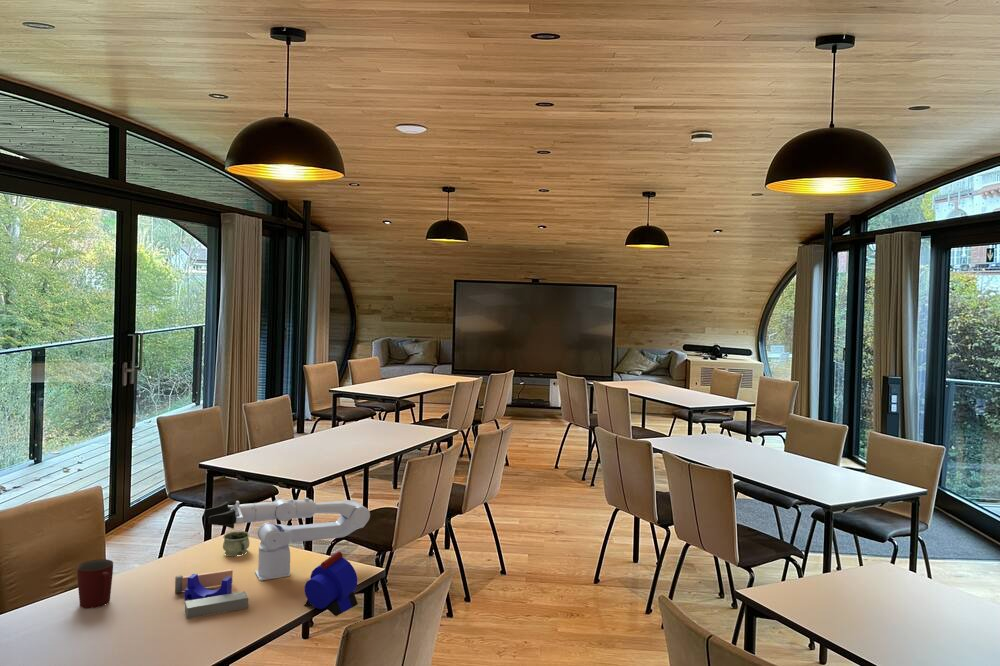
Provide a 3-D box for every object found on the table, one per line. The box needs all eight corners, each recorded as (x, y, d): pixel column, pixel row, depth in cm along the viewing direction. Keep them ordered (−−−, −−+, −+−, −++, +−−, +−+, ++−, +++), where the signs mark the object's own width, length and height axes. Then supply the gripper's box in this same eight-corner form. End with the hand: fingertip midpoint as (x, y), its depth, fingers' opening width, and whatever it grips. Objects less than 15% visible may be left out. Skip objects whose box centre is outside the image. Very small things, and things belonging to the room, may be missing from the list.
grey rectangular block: (244, 601, 210) (244, 590, 209) (248, 608, 205) (248, 597, 205) (184, 611, 202) (184, 600, 201) (187, 618, 197) (187, 608, 197)
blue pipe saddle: (184, 599, 209) (184, 579, 209) (192, 593, 214) (192, 573, 213) (224, 603, 208) (224, 582, 208) (231, 596, 213) (231, 576, 212)
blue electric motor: (359, 603, 211) (361, 553, 210) (331, 619, 200) (332, 566, 200) (327, 594, 217) (328, 545, 216) (298, 608, 206) (299, 557, 205)
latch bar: (231, 581, 222) (231, 567, 222) (232, 584, 220) (232, 569, 220) (174, 590, 214) (174, 576, 214) (175, 593, 212) (175, 578, 212)
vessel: (257, 554, 247) (257, 536, 246) (233, 561, 240) (234, 542, 240) (238, 545, 254) (238, 528, 254) (214, 551, 247) (215, 533, 247)
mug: (123, 605, 203) (124, 567, 203) (90, 616, 196) (91, 576, 196) (103, 593, 211) (104, 556, 210) (71, 603, 203) (71, 565, 203)
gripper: (248, 494, 231) (203, 498, 224) (258, 505, 219) (211, 510, 212) (247, 516, 232) (202, 520, 225) (257, 528, 219) (210, 533, 212)
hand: (206, 517), depth 218 cm, fingers open, 7 cm apart
